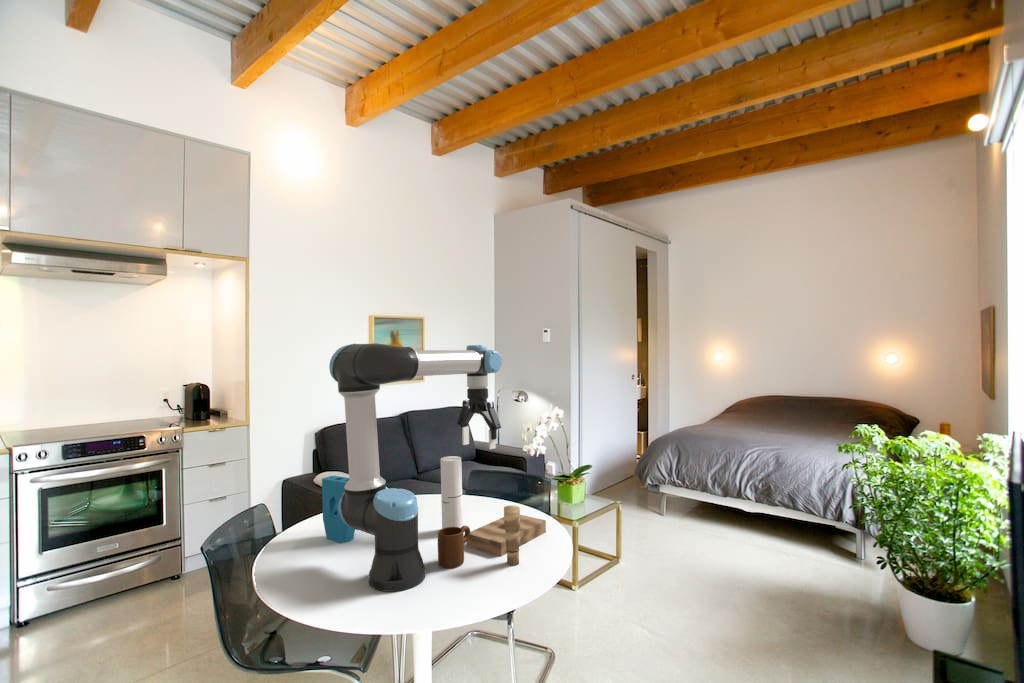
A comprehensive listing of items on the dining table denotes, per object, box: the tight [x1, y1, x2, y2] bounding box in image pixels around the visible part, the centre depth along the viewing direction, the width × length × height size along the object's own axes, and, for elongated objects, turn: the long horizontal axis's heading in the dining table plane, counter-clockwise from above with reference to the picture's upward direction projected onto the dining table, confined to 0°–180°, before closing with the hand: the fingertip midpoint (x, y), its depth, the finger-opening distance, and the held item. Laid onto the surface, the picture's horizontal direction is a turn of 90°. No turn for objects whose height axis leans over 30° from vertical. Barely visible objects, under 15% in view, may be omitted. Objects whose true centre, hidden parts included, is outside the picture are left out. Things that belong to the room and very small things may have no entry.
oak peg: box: [503, 504, 521, 567], centre depth 150 cm, size 5×5×16 cm
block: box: [321, 475, 356, 544], centre depth 173 cm, size 12×5×20 cm, turn 59°
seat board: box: [466, 514, 547, 557], centre depth 169 cm, size 24×14×4 cm, turn 142°
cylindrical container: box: [440, 455, 464, 529], centre depth 177 cm, size 7×7×25 cm
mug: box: [437, 525, 471, 569], centre depth 153 cm, size 12×8×9 cm, turn 143°
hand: (478, 446), depth 186 cm, fingers open, 13 cm apart
